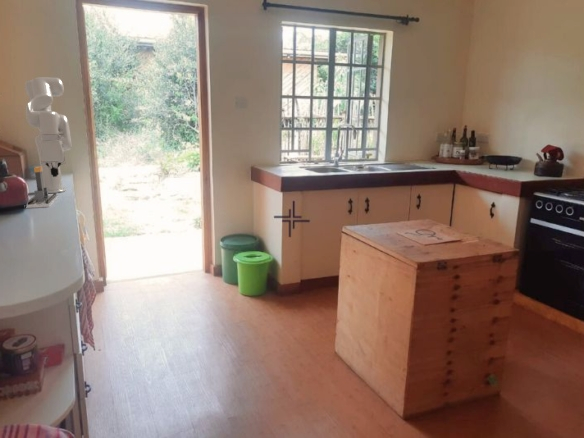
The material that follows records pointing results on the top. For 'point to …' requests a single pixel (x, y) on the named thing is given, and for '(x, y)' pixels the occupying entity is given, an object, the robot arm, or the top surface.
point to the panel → (39, 204)
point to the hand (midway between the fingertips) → (55, 176)
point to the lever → (39, 178)
